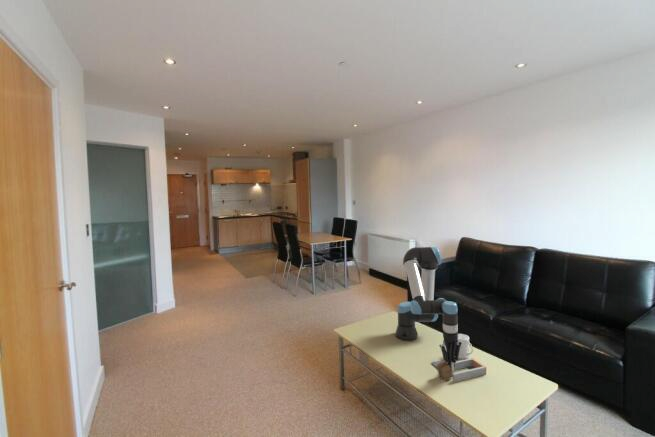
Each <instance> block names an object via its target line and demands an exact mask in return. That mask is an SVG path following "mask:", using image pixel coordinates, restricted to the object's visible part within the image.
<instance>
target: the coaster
mask: <svg viewBox="0 0 655 437" xmlns="http://www.w3.org/2000/svg"><path fill="white" fill-rule="evenodd" d="M442 361H444V359H442V360H437V361H432V362H430V364H431V365H433V366H434V367H435V368H436V369H437V367H436V365H437V364H439V363H440V362H442Z"/></svg>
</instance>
